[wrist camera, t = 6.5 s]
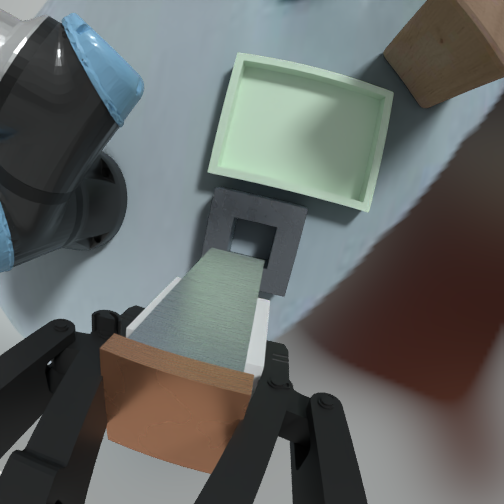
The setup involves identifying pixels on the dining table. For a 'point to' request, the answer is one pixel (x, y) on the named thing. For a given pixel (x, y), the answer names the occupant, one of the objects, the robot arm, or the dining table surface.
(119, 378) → the pin
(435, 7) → the wooden block
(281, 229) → the block
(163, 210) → the dining table surface
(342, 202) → the tray
